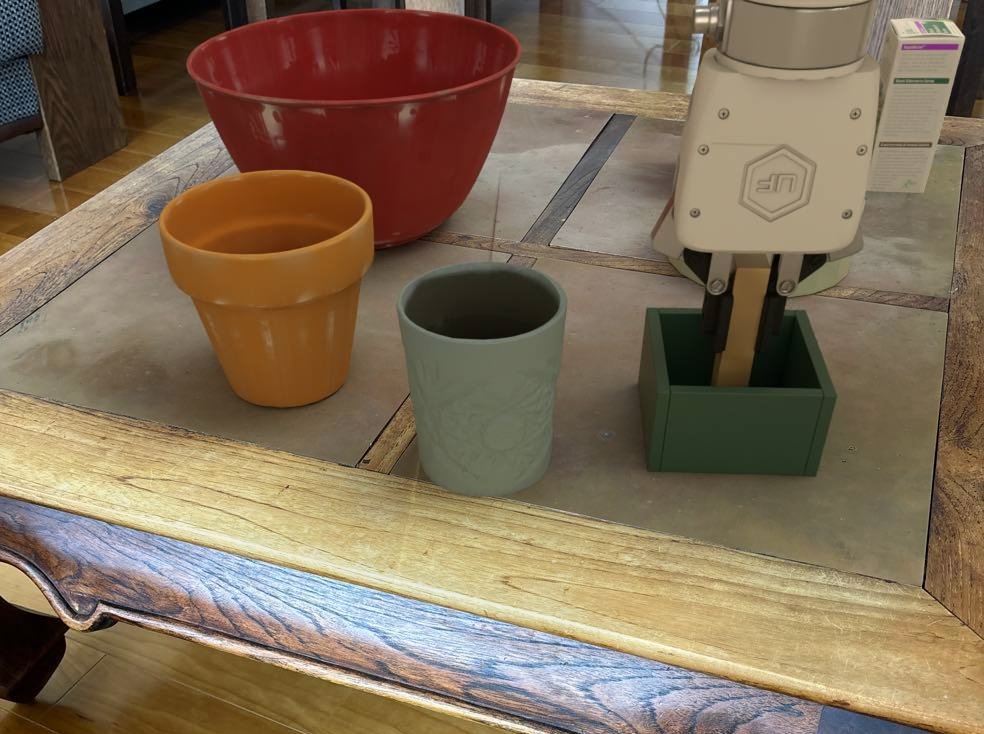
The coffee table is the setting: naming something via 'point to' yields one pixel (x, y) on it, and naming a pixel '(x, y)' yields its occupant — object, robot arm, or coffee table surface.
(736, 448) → the box
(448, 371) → the grey green cup
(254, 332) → the flower pot
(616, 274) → the coffee table surface
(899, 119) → the syrup box
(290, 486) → the coffee table surface
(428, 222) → the mixing bowl
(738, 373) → the stirring stick
